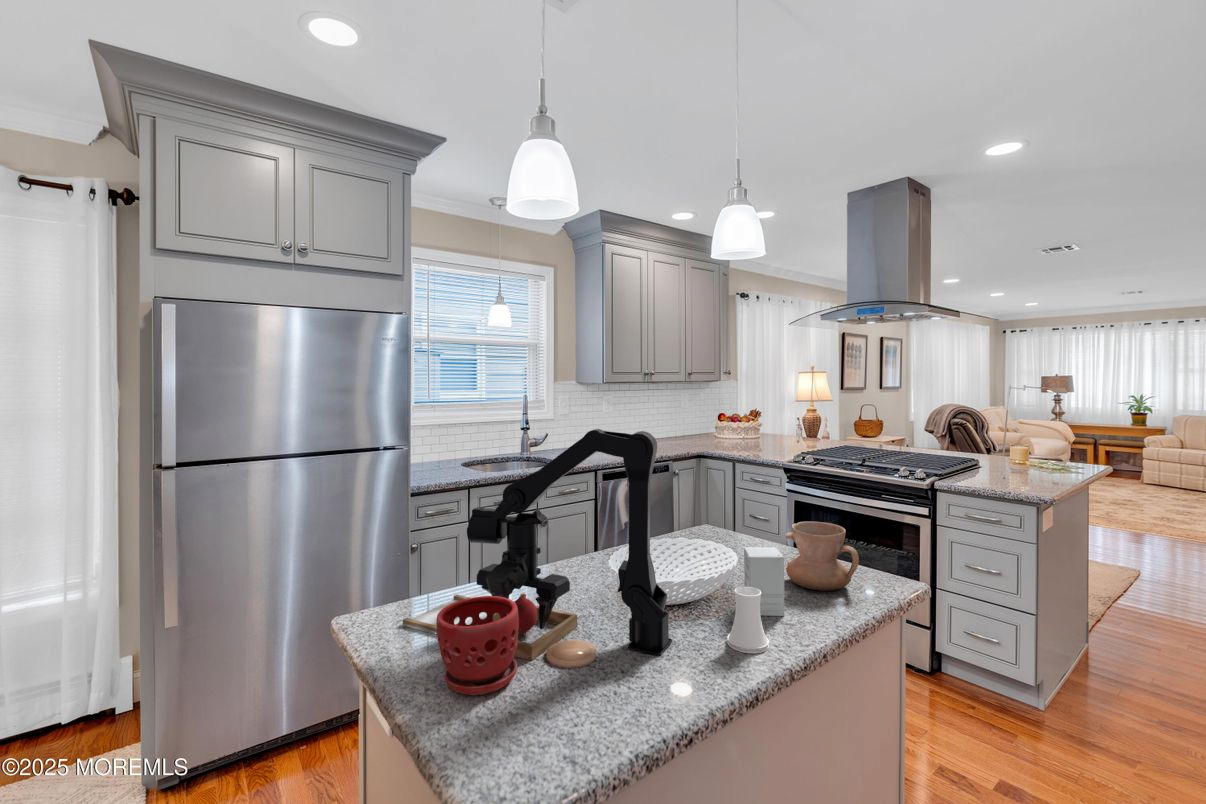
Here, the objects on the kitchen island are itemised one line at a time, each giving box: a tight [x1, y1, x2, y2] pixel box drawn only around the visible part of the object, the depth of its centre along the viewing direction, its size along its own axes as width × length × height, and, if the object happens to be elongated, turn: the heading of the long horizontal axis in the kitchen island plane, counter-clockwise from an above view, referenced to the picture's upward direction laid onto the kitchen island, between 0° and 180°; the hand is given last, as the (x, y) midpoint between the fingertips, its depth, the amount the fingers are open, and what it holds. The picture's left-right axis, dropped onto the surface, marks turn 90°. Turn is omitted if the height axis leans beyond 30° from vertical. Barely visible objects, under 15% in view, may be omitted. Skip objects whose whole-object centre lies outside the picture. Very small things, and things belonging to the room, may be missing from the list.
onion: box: [515, 592, 538, 636], centre depth 109 cm, size 6×6×8 cm
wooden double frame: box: [402, 594, 578, 661], centre depth 113 cm, size 32×16×2 cm, turn 62°
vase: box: [726, 586, 770, 654], centre depth 104 cm, size 8×8×10 cm
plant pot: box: [436, 595, 519, 696], centre depth 92 cm, size 13×13×12 cm
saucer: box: [545, 639, 598, 669], centre depth 100 cm, size 9×9×1 cm
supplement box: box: [743, 546, 785, 617], centre depth 121 cm, size 7×7×13 cm
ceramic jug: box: [784, 521, 860, 592], centre depth 135 cm, size 18×14×14 cm
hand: (522, 624), depth 109 cm, fingers open, 9 cm apart
